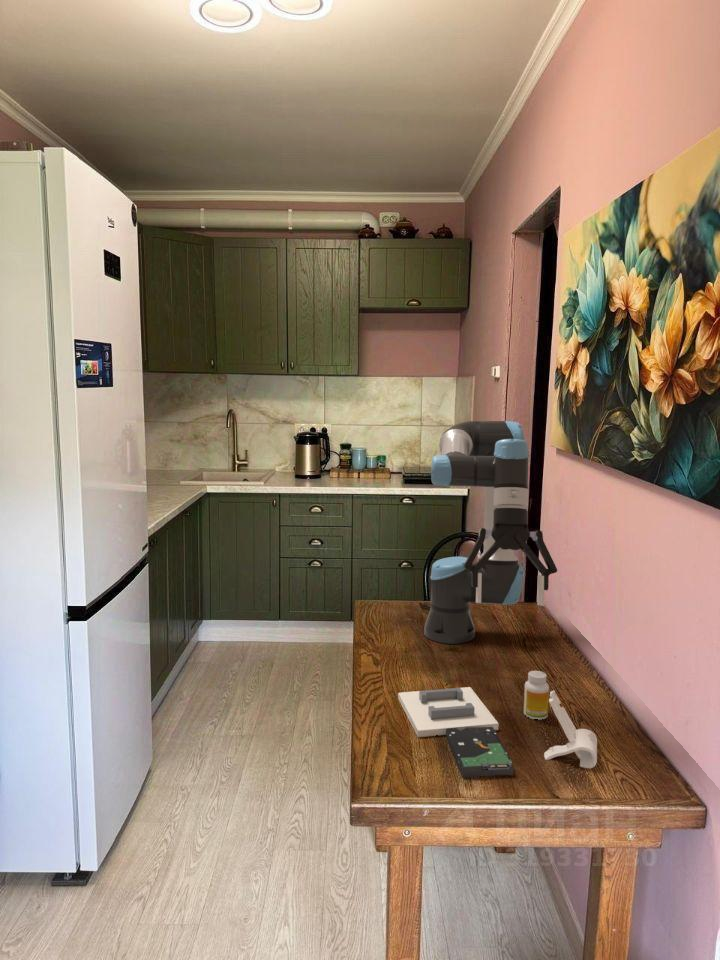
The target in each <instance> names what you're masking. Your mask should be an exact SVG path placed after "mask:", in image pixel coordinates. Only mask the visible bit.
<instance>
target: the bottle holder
mask: <svg viewBox="0 0 720 960" xmlns="http://www.w3.org/2000/svg"><path fill="white" fill-rule="evenodd" d="M397 696H398V697H397V699H398V701H399V703H400V705H401V707H402V709H403V711H404V714H406V717H407V718H408V721H409V723H410V724H411V726H412V729H413V731H414V732H415V735H416V736H417V738H426V737H434V736H435V737H437V736H436V735H438V736H446V729H447V728H457V729H458V730H460V731H461V730H463V729H465V728H469V727H493V729H494V730H495V731H499V722H498V720H497V719H495V717H494V715H493V714H492V713H491V712H490V710H489V709H488V708H487V706H486V705H485V704H484V703H483V702H482V700H481V699H480V698H479V696H478V695H477V694H476V692H475V691H474V690H473V689H472V687H470V686H467V687H466V686H465V687H455V688H454V687H453V688H452V687H451V688H440V689H439V688H438V689H430V690H429V689H427V690H416V691H415V690H414V691H403V692H398V693H397Z"/></svg>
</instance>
